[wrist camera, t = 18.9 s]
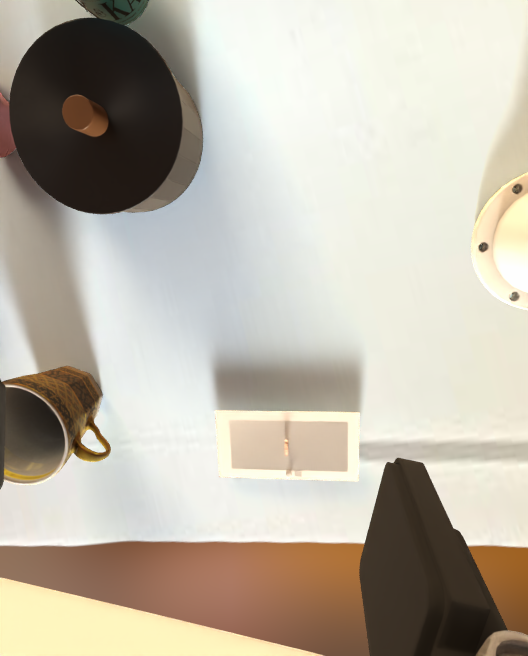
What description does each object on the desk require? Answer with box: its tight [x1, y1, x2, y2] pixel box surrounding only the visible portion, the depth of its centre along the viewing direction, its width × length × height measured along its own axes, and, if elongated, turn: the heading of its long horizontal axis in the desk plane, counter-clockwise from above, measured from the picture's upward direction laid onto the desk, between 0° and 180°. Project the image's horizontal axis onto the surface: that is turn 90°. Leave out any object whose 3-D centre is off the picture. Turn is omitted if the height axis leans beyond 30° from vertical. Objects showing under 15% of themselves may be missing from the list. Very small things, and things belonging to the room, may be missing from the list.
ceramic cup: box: [1, 366, 111, 485], centre depth 44 cm, size 13×10×10 cm
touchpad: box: [215, 410, 359, 481], centre depth 46 cm, size 8×15×2 cm, turn 92°
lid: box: [9, 18, 184, 214], centre depth 34 cm, size 14×14×4 cm
